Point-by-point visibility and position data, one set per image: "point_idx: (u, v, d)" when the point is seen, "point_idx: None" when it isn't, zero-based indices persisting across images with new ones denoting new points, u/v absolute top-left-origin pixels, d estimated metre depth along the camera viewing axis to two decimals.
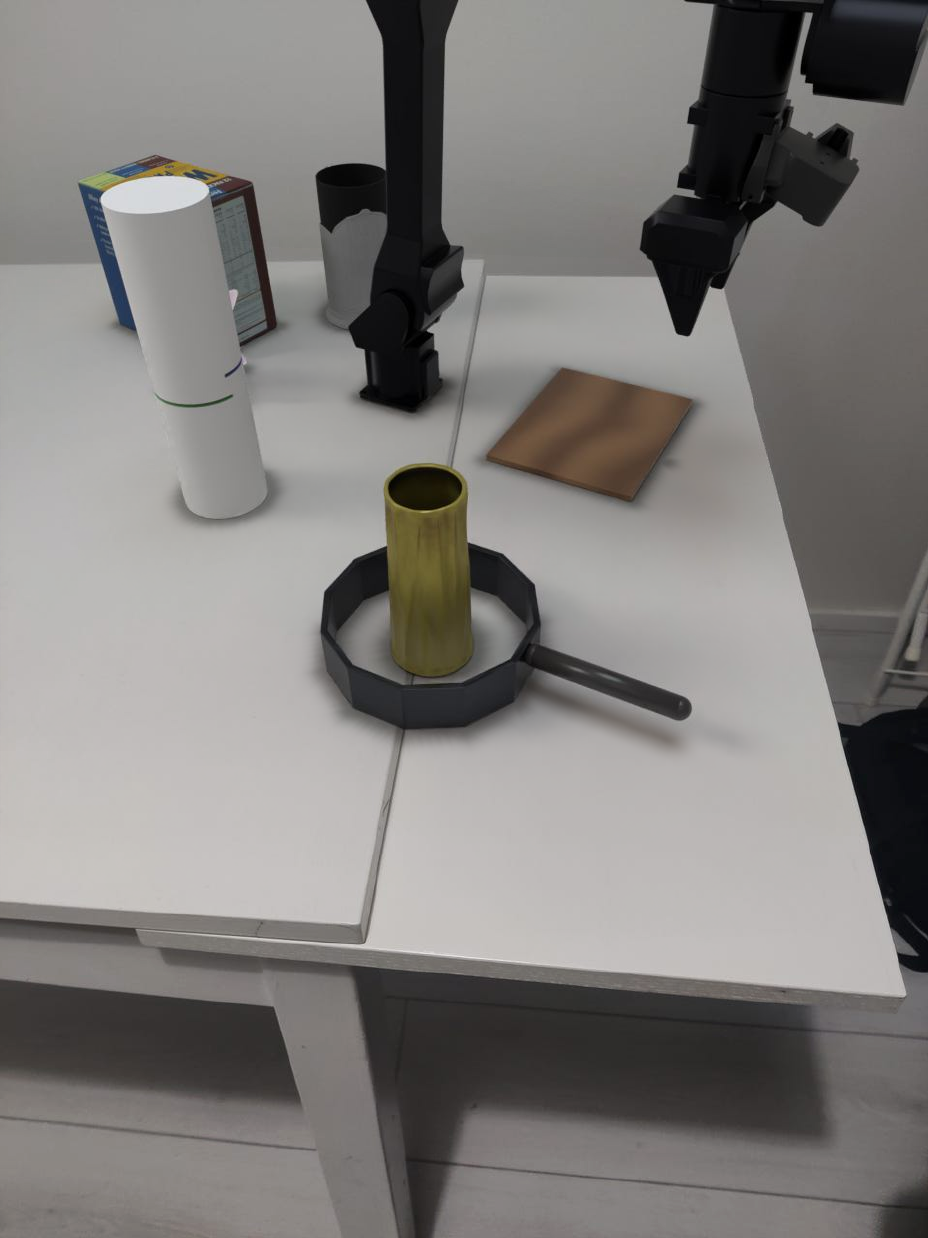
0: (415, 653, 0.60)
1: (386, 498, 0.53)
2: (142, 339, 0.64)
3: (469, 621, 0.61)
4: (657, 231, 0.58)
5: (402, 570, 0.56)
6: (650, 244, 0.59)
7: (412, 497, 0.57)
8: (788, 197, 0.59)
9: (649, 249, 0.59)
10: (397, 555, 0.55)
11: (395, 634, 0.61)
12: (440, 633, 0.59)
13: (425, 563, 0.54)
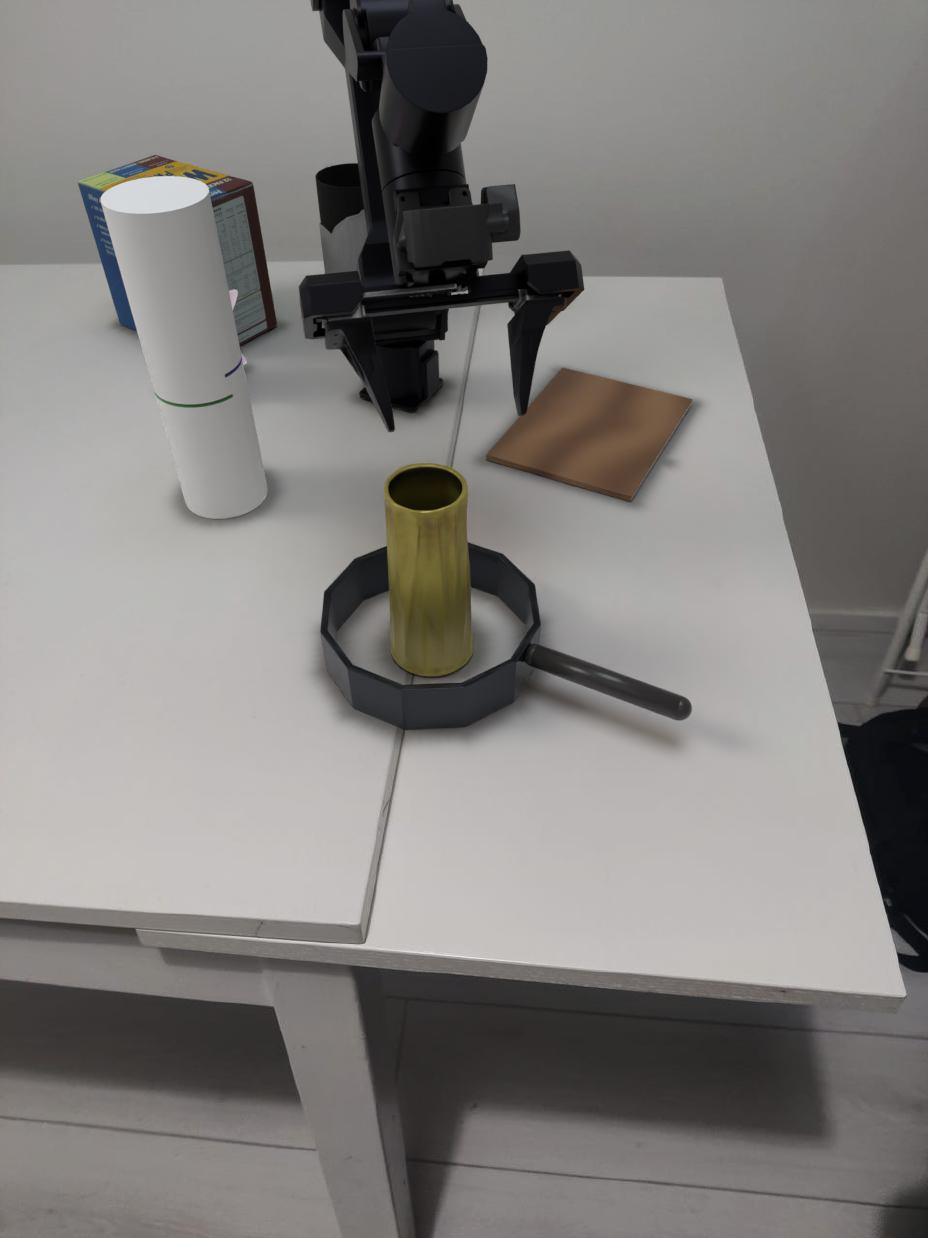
0: (415, 653, 0.60)
1: (386, 498, 0.53)
2: (142, 339, 0.64)
3: (469, 621, 0.61)
4: None
5: (403, 570, 0.56)
6: (303, 327, 0.60)
7: (412, 497, 0.57)
8: (408, 252, 0.54)
9: (304, 331, 0.60)
10: (397, 555, 0.55)
11: (395, 634, 0.61)
12: (440, 633, 0.59)
13: (425, 563, 0.54)
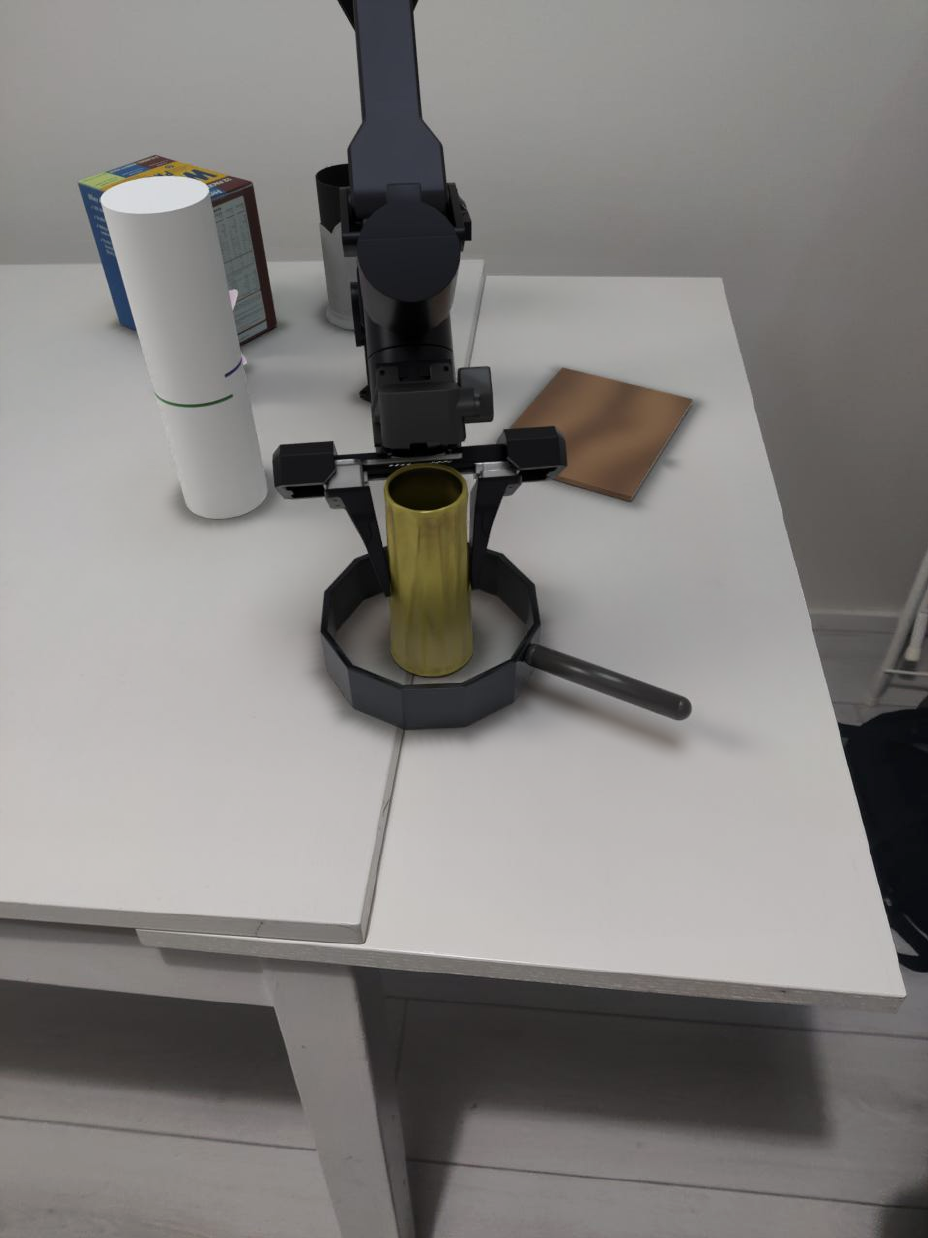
0: (415, 653, 0.60)
1: (386, 498, 0.53)
2: (142, 339, 0.64)
3: (469, 621, 0.61)
4: None
5: (403, 570, 0.56)
6: None
7: (412, 497, 0.57)
8: None
9: None
10: (397, 555, 0.55)
11: (395, 634, 0.61)
12: (440, 633, 0.59)
13: (425, 563, 0.54)
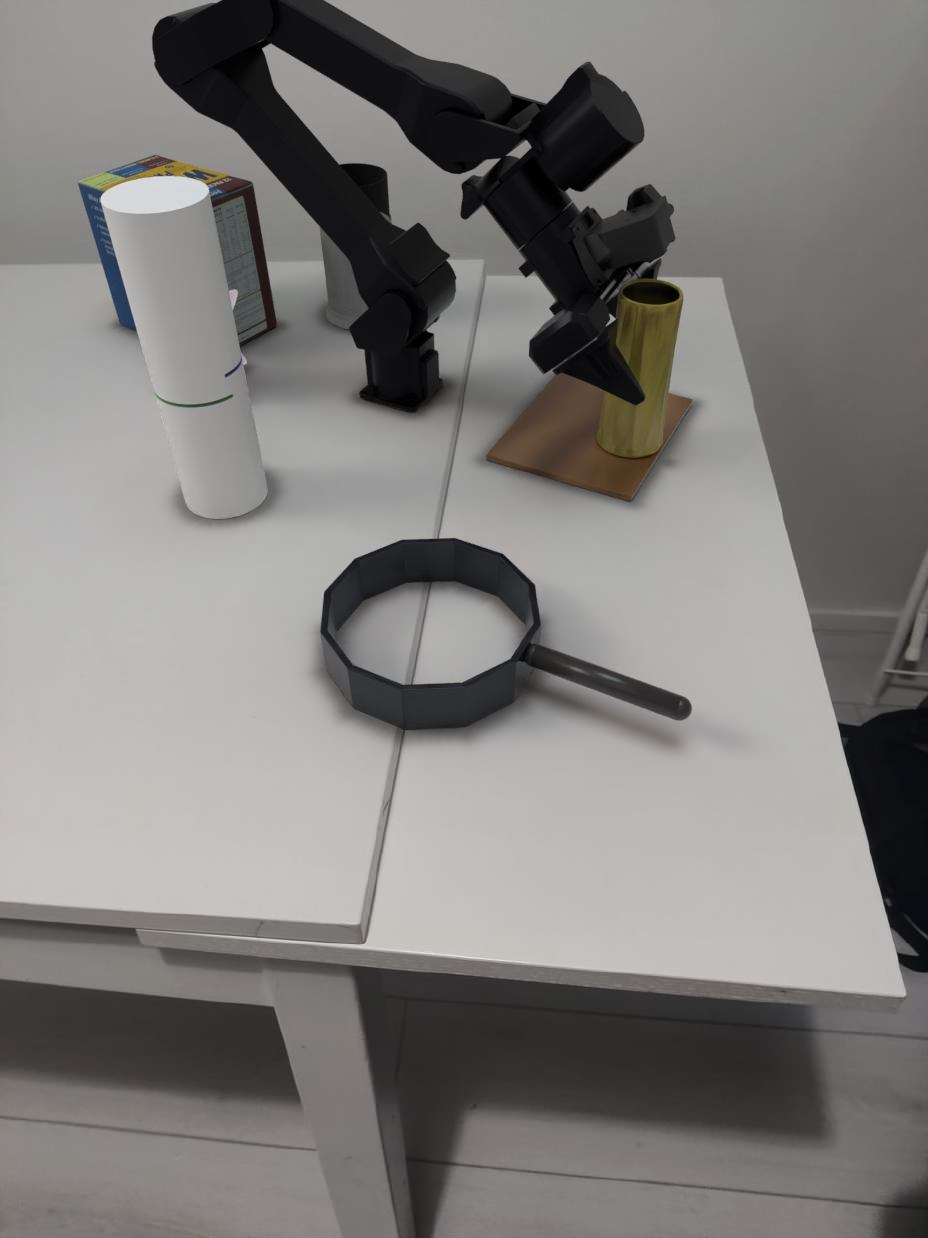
0: (653, 435, 0.78)
1: (651, 306, 0.70)
2: (142, 339, 0.64)
3: None
4: (538, 353, 0.69)
5: (658, 362, 0.73)
6: (542, 364, 0.69)
7: None
8: (622, 258, 0.68)
9: (544, 368, 0.69)
10: (656, 351, 0.72)
11: (635, 432, 0.78)
12: (666, 405, 0.78)
13: (672, 345, 0.73)
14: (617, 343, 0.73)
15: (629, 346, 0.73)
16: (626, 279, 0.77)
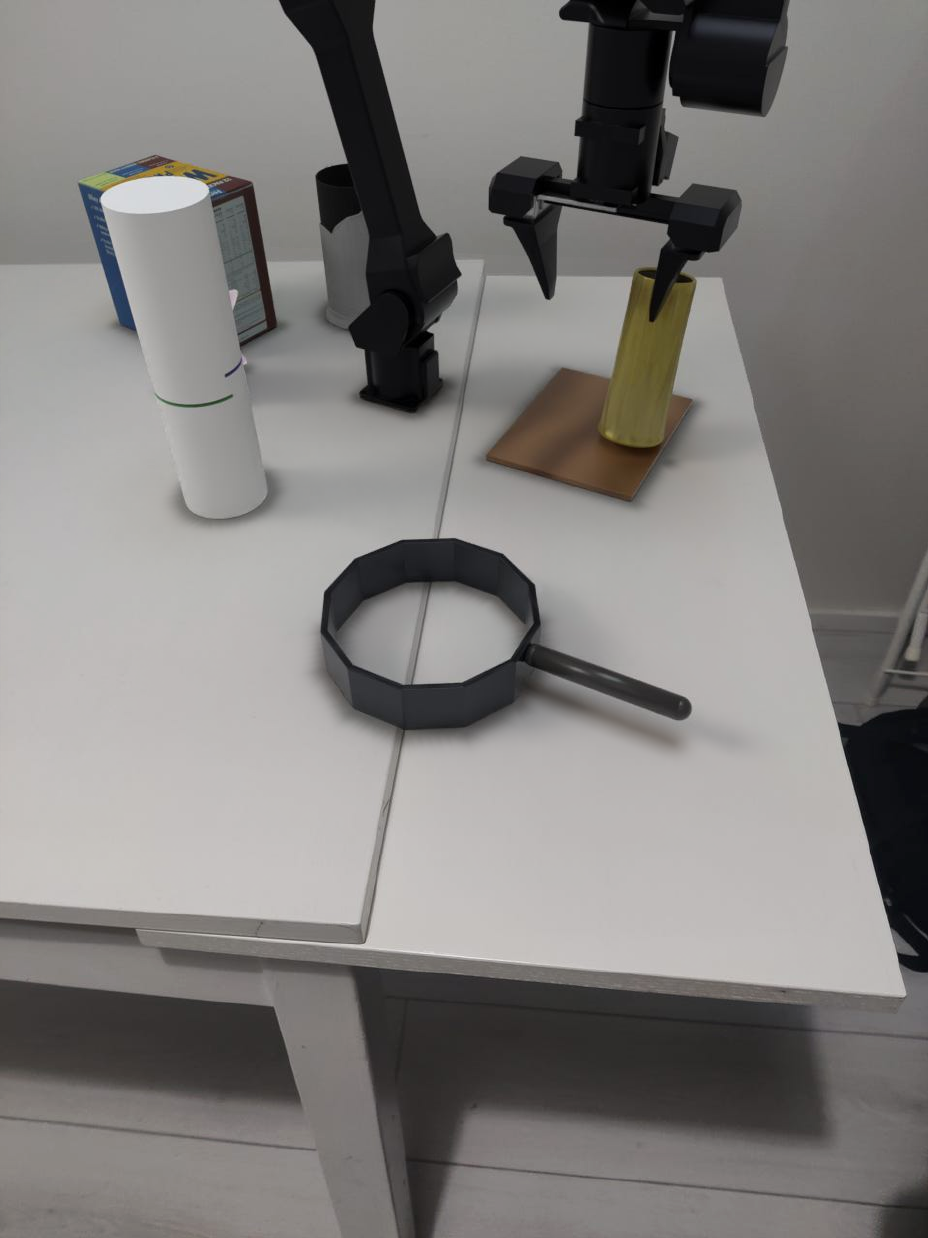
0: (656, 425, 0.78)
1: None
2: (142, 339, 0.64)
3: None
4: (726, 225, 0.63)
5: (668, 344, 0.74)
6: (721, 240, 0.63)
7: None
8: (665, 167, 0.68)
9: (721, 244, 0.63)
10: (668, 331, 0.73)
11: (639, 419, 0.77)
12: (670, 397, 0.78)
13: (682, 330, 0.74)
14: (629, 324, 0.74)
15: (641, 325, 0.73)
16: None
